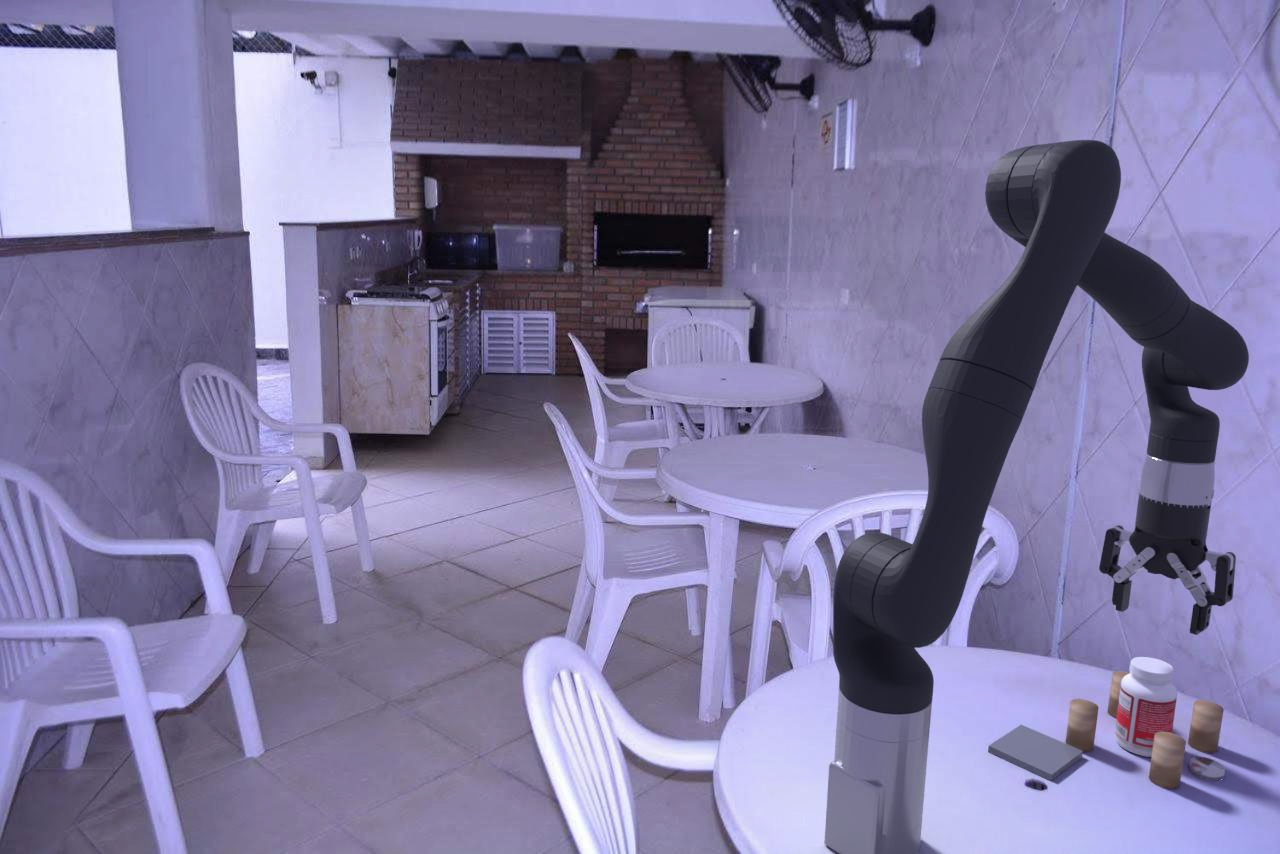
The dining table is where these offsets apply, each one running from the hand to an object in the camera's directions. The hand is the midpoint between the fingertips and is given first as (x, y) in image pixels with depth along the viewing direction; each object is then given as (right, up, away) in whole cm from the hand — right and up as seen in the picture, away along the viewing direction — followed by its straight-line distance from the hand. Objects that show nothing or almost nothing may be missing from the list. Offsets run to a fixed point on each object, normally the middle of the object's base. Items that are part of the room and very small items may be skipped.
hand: (1157, 620), depth 113 cm
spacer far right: (+1, -15, +11) cm, 19 cm away
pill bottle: (0, -17, +4) cm, 17 cm away
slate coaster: (-15, -17, +1) cm, 22 cm away
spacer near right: (-8, -16, +3) cm, 19 cm away
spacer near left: (-2, -18, -4) cm, 19 cm away
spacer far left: (+8, -17, +4) cm, 19 cm away
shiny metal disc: (+5, -18, -2) cm, 19 cm away
